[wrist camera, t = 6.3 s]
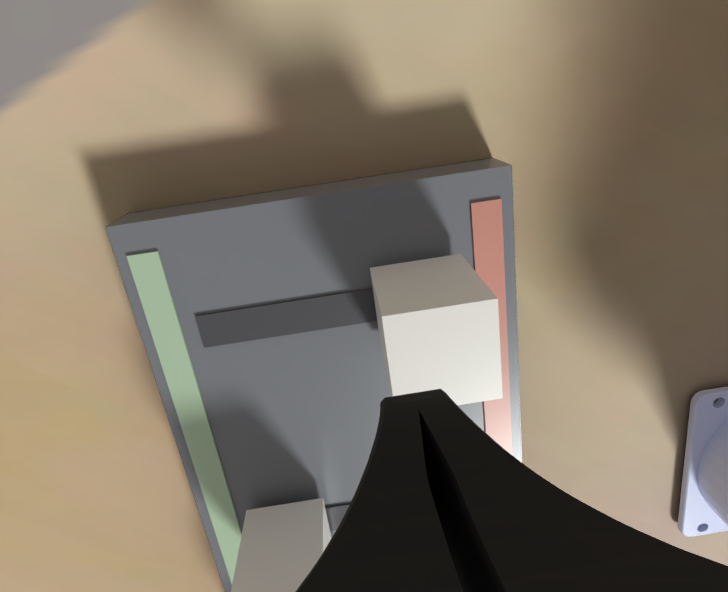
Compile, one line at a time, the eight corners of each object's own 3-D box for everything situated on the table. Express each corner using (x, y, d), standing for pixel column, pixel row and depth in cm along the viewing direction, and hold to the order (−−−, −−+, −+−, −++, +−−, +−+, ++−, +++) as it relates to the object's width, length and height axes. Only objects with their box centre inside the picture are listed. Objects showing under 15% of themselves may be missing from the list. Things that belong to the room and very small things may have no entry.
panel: (493, 157, 19) (512, 165, 17) (516, 651, 28) (530, 693, 26) (127, 213, 18) (104, 228, 16) (275, 691, 28) (272, 736, 26)
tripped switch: (460, 253, 17) (497, 298, 13) (466, 335, 18) (502, 398, 15) (369, 267, 17) (381, 316, 13) (381, 349, 18) (395, 415, 14)
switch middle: (323, 498, 20) (322, 588, 17) (335, 555, 21) (337, 652, 18) (246, 509, 20) (228, 603, 17) (262, 566, 21) (249, 666, 18)
